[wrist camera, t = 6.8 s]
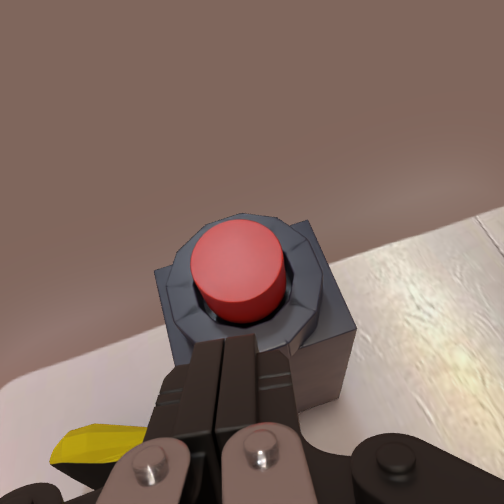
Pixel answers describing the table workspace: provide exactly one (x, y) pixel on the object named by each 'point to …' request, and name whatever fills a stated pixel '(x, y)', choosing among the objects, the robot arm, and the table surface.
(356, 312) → the table surface
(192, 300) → the button pillar
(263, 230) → the button
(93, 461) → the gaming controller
